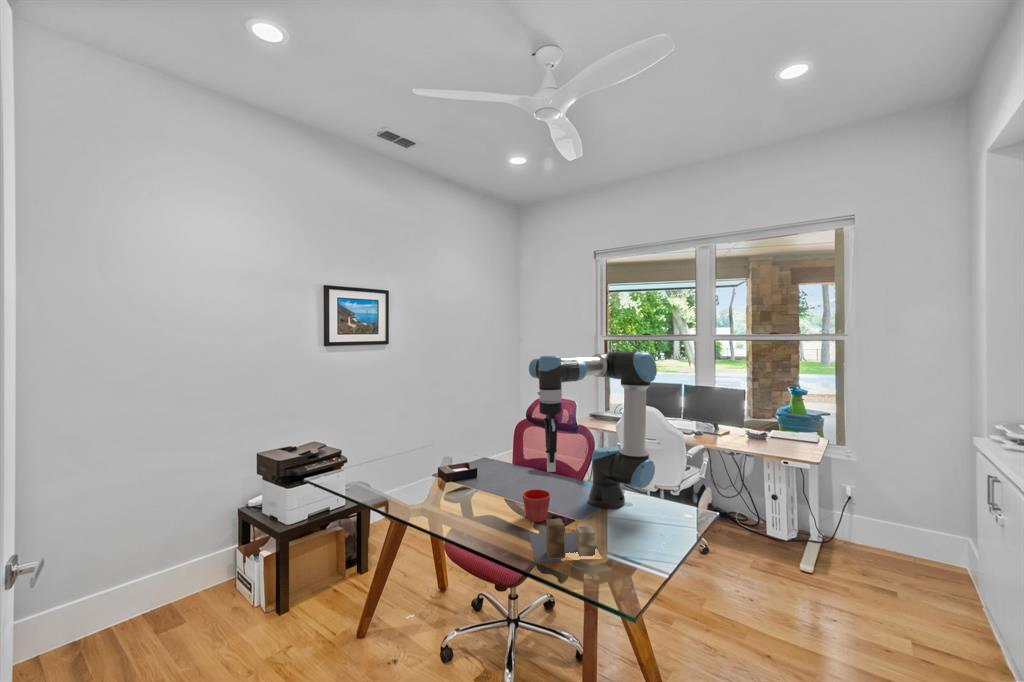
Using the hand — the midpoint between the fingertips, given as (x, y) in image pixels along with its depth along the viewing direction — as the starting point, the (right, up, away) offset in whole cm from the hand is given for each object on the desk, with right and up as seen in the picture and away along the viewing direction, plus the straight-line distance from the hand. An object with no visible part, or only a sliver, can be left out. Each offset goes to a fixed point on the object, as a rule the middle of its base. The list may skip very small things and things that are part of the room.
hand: (551, 470), depth 154 cm
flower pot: (-3, -26, +26) cm, 37 cm away
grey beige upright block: (+11, -26, -4) cm, 29 cm away
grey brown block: (+1, -26, -5) cm, 27 cm away
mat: (+5, -27, +1) cm, 27 cm away
